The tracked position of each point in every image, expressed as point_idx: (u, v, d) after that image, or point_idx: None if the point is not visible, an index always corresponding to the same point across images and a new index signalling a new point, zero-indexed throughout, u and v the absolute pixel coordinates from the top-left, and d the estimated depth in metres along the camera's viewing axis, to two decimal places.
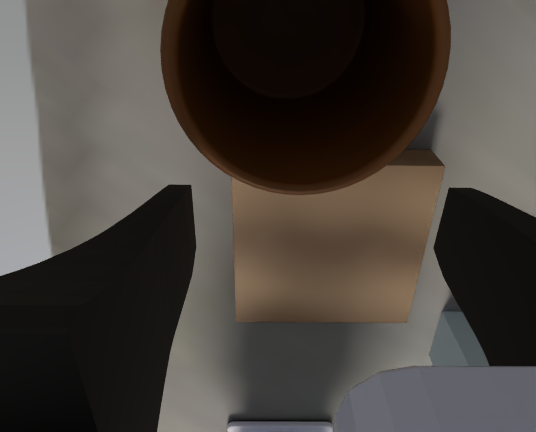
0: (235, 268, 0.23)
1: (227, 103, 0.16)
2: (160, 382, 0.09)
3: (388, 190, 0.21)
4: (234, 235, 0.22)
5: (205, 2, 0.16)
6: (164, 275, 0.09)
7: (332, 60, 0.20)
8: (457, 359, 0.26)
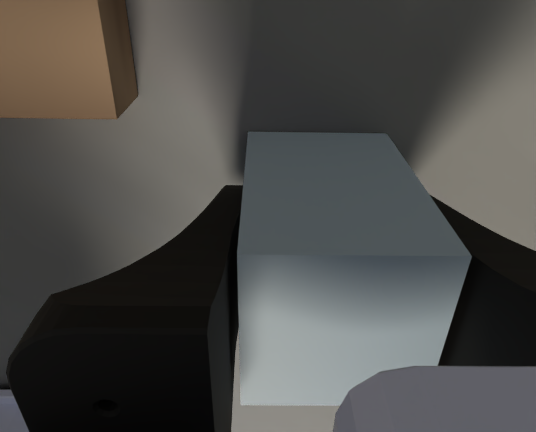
0: None
1: None
2: (232, 382, 0.09)
3: None
4: None
5: None
6: (234, 275, 0.09)
7: None
8: None
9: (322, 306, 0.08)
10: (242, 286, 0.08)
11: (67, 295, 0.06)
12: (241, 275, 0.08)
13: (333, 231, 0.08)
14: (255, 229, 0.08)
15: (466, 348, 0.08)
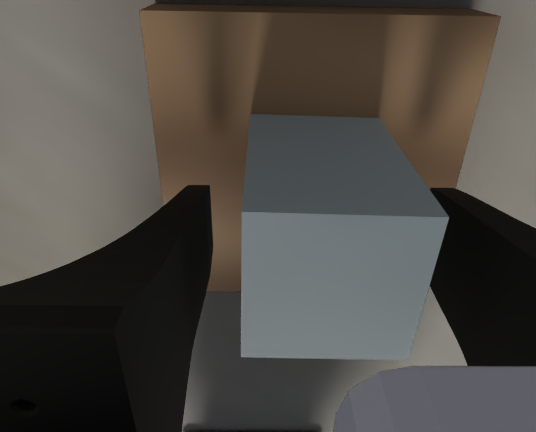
0: (164, 204, 0.15)
1: None
2: (184, 382, 0.09)
3: (404, 64, 0.13)
4: (157, 147, 0.14)
5: None
6: (187, 275, 0.09)
7: None
8: None
9: (316, 262, 0.09)
10: (245, 242, 0.09)
11: None
12: (245, 231, 0.09)
13: (327, 195, 0.09)
14: (257, 193, 0.09)
15: (522, 348, 0.08)
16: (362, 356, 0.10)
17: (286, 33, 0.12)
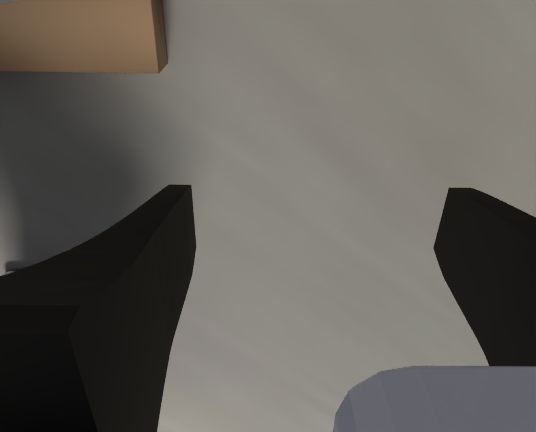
0: None
1: None
2: (160, 382, 0.09)
3: None
4: None
5: None
6: (164, 275, 0.09)
7: None
8: None
9: None
10: None
11: None
12: None
13: None
14: None
15: None
16: None
17: None
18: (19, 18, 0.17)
